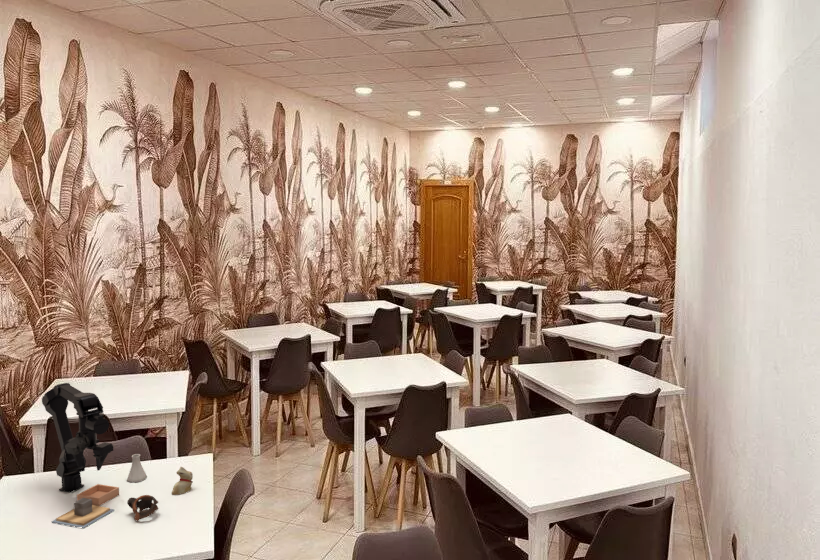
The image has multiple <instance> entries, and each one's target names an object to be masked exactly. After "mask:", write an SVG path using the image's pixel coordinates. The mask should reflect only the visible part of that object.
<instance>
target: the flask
mask: <svg viewBox="0 0 820 560" xmlns="http://www.w3.org/2000/svg"><path fill="white" fill-rule="evenodd" d="M131 458H132V461H131V466H130V469H129V473H128V475H127V479H126V481H127V482H129V483H140V482H142V481H144V480H146V479H147V477H148V476H147V473H146V471H145V470H144V467H143V465H142V462H141V459H140V458H141V454H140V453H135V454H132V455H131Z"/></svg>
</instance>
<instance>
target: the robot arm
mask: <svg viewBox="0 0 820 560" xmlns="http://www.w3.org/2000/svg"><path fill="white" fill-rule="evenodd" d="M69 402H70V403H72V404H73V409H74V410H75V411H76V416H78V431H76V433H75V437H73V433H72V429H71V425H70V422H69V418H68V414H67V408H68V406H69ZM41 403H42V405H43V407H44V410H45V411H46V412H47V413H48V414H49V415H51V416H52V419H53V423H54V426H55V430H56V434H57V438H58V441H59V446H60V449H61V453H60V456H59V458H58V459H59V464H58V465H57V467H56V468H55V472H56V476H57V477H59V478H61V487H59V488H58V491H61V492H65V493H73V492H75V491H77V490H79V489H81V488H84V487H85V484H83V483H82V477H81V472H85V470H86V463H87V461H86V460H87V459H86V457H85V455H84V451H85V450H86V449H87V450H92V453H93V454H92V456H93V457H94V458H95V463H96V466H95V467H96V470H97V471H100V470H101V469H102V466H103V464H104V462H105V460H106V458H107V456H108V455H109V454H110V453H112V452H113V451H114V444H112V443H110V442H102V443H100V439H97V436H98V435H102V434H105V433H106V432H107V431H108V429H109V427H110V423H109V421H108V419H107V418H104V415H103V413H104V407H103V404H102V403H101V400H100V399H99V397H98V396H97V394H96V393H94V392H93V393H92V392H82V391H81V390H79V389H78V388H75V387H74V386H73V385H72V384H70V383H69V382H64V383H58V384H55V385H54V386H53V387H52V389H49V390H48V391H47V392H45V393H44V395H43V396H42V398H41ZM98 443H99V444H98Z"/></svg>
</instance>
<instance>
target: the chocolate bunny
mask: <svg viewBox="0 0 820 560" xmlns="http://www.w3.org/2000/svg"><path fill="white" fill-rule="evenodd" d="M176 475H178V476H179V480H178V481H177V482H176V483H175V484H174V486H173V488H172V491H171V495H172V496H178V495H182V494H186V492H187V493H189V492H190V491H191V490H192V485H193V482H194V481H192V480H193V477H194V475H193V472H192V471H188V470H187V469H186V468H185V467H183V466H180V467H179V469H178V470H177V471H176ZM188 491H189V492H188Z"/></svg>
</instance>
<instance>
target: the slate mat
mask: <svg viewBox="0 0 820 560" xmlns="http://www.w3.org/2000/svg"><path fill="white" fill-rule="evenodd" d="M114 511H115V509H114V508H113V509H112V508H110V511H108V512H106V513H105V514H103V515H101V516H99V517H98V518H96V519H94V520H93V521H91V522H89V523H87V524H86V525H84V526H82V525H77V524H72V523H66V522H61V521H56V518H55V519H53V520H52V521H51V522H52V523H51V524H56V523H58V524H57V525H61V524H64V525H63V526H66V525H70V526H69V527H72V526H75V527H74V528H77V527H82V528H84V529H86V528H87V527H89V526H91V525H93V524H94V523H95V522H97V520H98V521H99V520H101V519H103V518H105V517H106V516H108V515H109V514H111V513H112V512H114ZM90 524H91V525H90ZM88 525H89V526H88ZM86 526H87V527H86ZM85 527H86V528H85ZM82 528H81V529H82Z"/></svg>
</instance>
